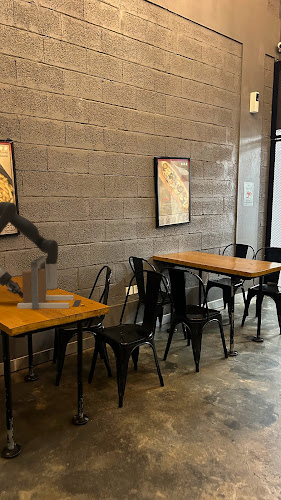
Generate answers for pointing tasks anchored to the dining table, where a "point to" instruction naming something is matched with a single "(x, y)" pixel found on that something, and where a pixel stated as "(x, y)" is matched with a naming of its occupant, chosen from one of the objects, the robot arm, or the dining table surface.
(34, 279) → the arch
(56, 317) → the dining table surface
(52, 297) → the walled lane
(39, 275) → the wooden block
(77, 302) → the pad
